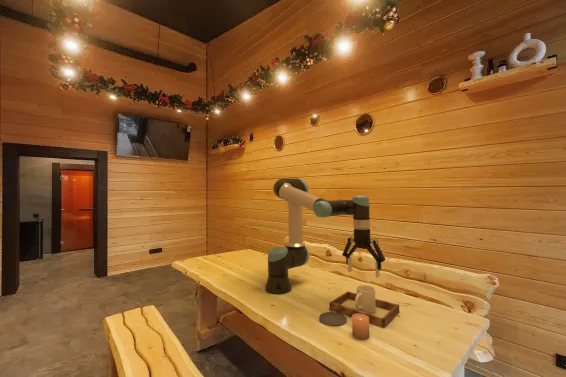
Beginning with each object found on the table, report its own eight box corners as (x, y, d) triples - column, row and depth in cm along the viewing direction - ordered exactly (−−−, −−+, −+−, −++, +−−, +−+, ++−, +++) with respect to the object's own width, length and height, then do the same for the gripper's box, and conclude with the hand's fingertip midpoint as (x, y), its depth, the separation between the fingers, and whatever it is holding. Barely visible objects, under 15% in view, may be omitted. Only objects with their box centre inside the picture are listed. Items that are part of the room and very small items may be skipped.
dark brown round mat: (313, 320, 114) (313, 318, 115) (328, 310, 123) (328, 309, 123) (337, 329, 106) (337, 327, 106) (351, 318, 115) (351, 317, 115)
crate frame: (329, 309, 124) (329, 302, 124) (347, 297, 138) (347, 291, 138) (384, 328, 107) (384, 319, 107) (399, 312, 120) (399, 304, 120)
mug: (362, 318, 115) (362, 294, 115) (348, 311, 122) (347, 289, 122) (379, 310, 122) (378, 288, 122) (364, 304, 129) (364, 283, 129)
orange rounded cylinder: (349, 335, 102) (348, 317, 102) (356, 329, 106) (356, 311, 107) (365, 341, 97) (364, 322, 98) (372, 334, 102) (371, 316, 102)
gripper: (334, 227, 128) (335, 271, 128) (385, 231, 112) (387, 281, 111) (342, 225, 134) (343, 267, 133) (391, 229, 117) (393, 276, 117)
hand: (363, 274), depth 122 cm, fingers open, 13 cm apart
